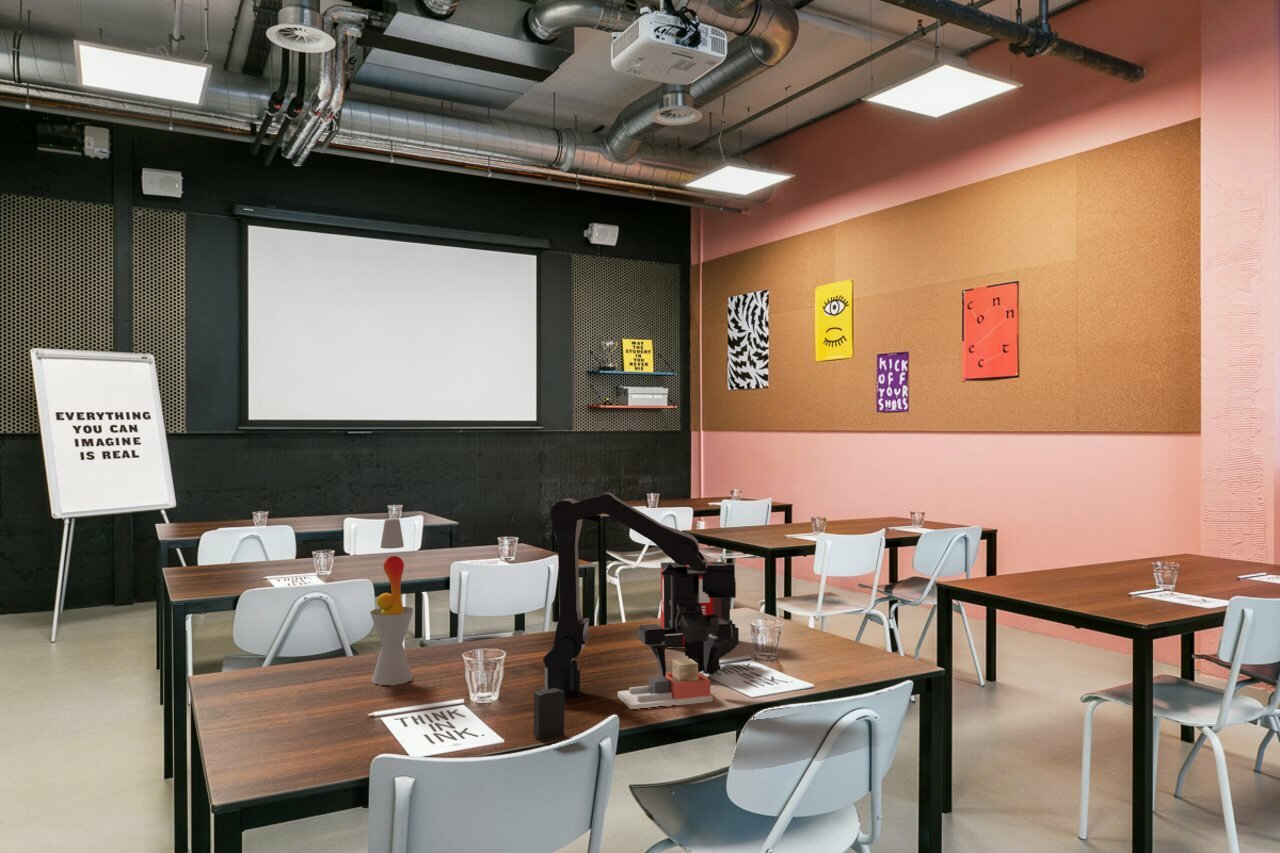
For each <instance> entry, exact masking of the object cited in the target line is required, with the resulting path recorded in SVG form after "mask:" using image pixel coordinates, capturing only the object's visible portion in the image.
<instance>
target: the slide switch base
mask: <svg viewBox="0 0 1280 853" xmlns="http://www.w3.org/2000/svg"><path fill="white" fill-rule="evenodd" d="M701 673H702V672H698V680H696V681H686V682H676V681H674V680H673V679H672V672H666V677H665V678H667V679H668V680H669V681H670V692H666V693H656V694H651V693H650V692H649V685H641V686H630V687H629V688H628V689H627V690H619V691H617V698H619V699H620V701H621V702H622V701H623V702H624V703H625V704H626V705H627V706H628V707H629V708H630V709H638V710H640V709H639V708H648V707H657V708H659V707H658V706H666V707H673V706H672V705H676V706H682V705H683V706H684V705H693V704H702V703H710V702H712V703H713V701H714V700H713V698H714V697H713V695H711V680H710V679H709V678H708V677H706V676H705V675H704V674H703V675H702V674H701ZM623 702H622V703H623ZM624 703H623V704H624ZM625 704H624V705H625ZM626 705H625V706H626ZM627 706H626V707H627ZM628 707H627V708H628ZM629 708H628V709H629ZM630 709H629V710H630ZM648 709H649V708H648Z"/></svg>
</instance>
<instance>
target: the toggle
mask: <svg viewBox="0 0 1280 853" xmlns="http://www.w3.org/2000/svg"><path fill="white" fill-rule="evenodd" d="M648 686H649V692H650V693H651V694H656V693H666V692H670V681H669V680H668V679H667V678H665V677H663V676H662V675H655V676H654V675H653V676H649V677H648Z"/></svg>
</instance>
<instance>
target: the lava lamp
mask: <svg viewBox="0 0 1280 853" xmlns="http://www.w3.org/2000/svg"><path fill="white" fill-rule="evenodd" d="M402 532H403V530H402V526H401V520H400V519H399V518H397V517H393V518H391V517H390V518H386V519H385V520H384V523H383V530H382V534H381V535H382V536H381V542H380V549H389V550H390V549H399V548H400V549H401V548H404V547H405V544H404V537H403V533H402ZM382 566H383V567H382V568H383V570H384V573H385V574H386V576H387V578H388V581H389V584H390V587H391V588H390V589H391V593H389V592H384V593H381V594H380V595H378V597H377V600H376V604H377V606H378V607H379V608H376V609H373V610H371V611H369V612H370V616H371V618H372V619H371V620H372V622H373V624H374V627H375V630H376V633H377V636H378V638H379V642H380V644H381V648H380V652H379V655H378V658H377V661H376V665H375V669H374V672H373V675H372V678H371V681H372V682H371V683H372V684H373V683H374V684H373V685H375V684H379V685H378V686H382V685H390V686H398V685H397V684H399V685H403V684H407V683H409V682H411V681H412V680H413V679H414V678H413V677H414V676H413V673H412V670H411V668H410V664H409V660H408V657H407V655H406V651H405V648H404V645H403V644H404V641H405V638H406V634H407V632H408V629H409V626H410V623H411V620H412V617H413V613H414V612H415V610H414V608H413V607H409V606H404V605H403V602H402V596H401V583H402V577H403V571H404V570H405V569H404V568H405V563H404V560H403V559H402V558H401V557H400V556H395V555H394V556H393V555H392V556H390V557H387V558H386V559H385V560H384V562H383V565H382ZM408 681H409V682H408ZM406 682H407V683H406ZM402 683H403V684H402Z"/></svg>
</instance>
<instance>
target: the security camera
mask: <svg viewBox="0 0 1280 853" xmlns="http://www.w3.org/2000/svg"><path fill="white" fill-rule="evenodd" d="M722 620H724V619H722ZM724 621H725V622H727V623H729V624H730V625H731V626H732V629H733V638H727V639H726V640H727V641H726V642H725V643H722V644H721V645H720V646H719V647H718V649H717V651H716V653H715V655H714V658H713V661H712V664H711V667H710V669H709V672H708V674H707V673H706V672H705V669H704V641H695V642H692V643H690V642H687V641H686V640H685V648H684V656H685V657H687V659H692V660H694V661H695V662H696V663H698V672H700V673H701V674H702V675H704V674H707V675H714V674H715V673H717V672H718V671H720V670H721V667H722V666H721V665H720V659H721V658H723V657H724V656H725V655H727V654H729V653H731V652H733V649H735V648H736V646H738V645H739V644H740V643H739V642H740V639H739V638H740V637H739V636H740V635H739V631H740V629H739V627H736V624H735V623H733V620H731V619H730V620H724Z"/></svg>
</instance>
